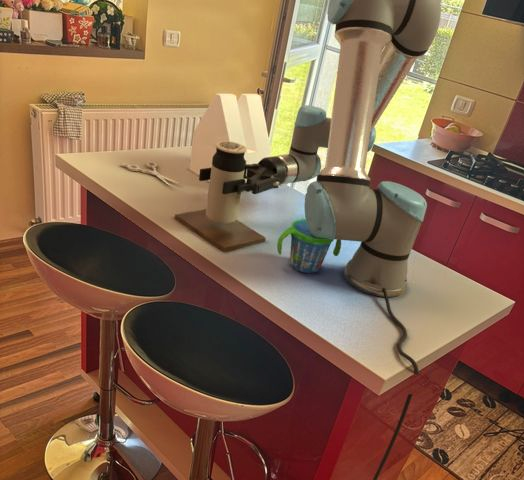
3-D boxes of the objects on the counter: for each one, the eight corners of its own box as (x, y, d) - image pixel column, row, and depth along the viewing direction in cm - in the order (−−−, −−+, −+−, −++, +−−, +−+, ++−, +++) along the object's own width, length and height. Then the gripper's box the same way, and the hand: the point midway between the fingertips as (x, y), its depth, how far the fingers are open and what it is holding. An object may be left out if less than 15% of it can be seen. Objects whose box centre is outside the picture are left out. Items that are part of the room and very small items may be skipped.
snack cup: (277, 274, 127) (286, 234, 121) (269, 253, 135) (277, 215, 129) (339, 280, 131) (351, 241, 125) (328, 259, 139) (339, 222, 133)
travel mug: (199, 216, 137) (208, 144, 127) (215, 208, 143) (224, 138, 133) (227, 227, 135) (237, 154, 124) (242, 217, 141) (253, 147, 131)
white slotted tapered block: (189, 169, 174) (198, 85, 159) (227, 165, 183) (238, 85, 168) (226, 192, 163) (239, 104, 149) (264, 187, 173) (279, 104, 158)
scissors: (149, 160, 171) (191, 182, 162) (149, 162, 172) (190, 185, 162) (120, 163, 164) (163, 187, 155) (120, 166, 165) (162, 190, 155)
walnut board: (264, 241, 140) (265, 237, 140) (223, 251, 131) (224, 247, 131) (215, 211, 151) (216, 206, 150) (174, 218, 142) (174, 214, 141)
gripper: (301, 199, 142) (239, 213, 127) (247, 170, 152) (183, 180, 137) (308, 171, 138) (244, 182, 123) (251, 143, 148) (186, 151, 133)
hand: (212, 181), depth 130 cm, fingers closed on travel mug, 8 cm apart
